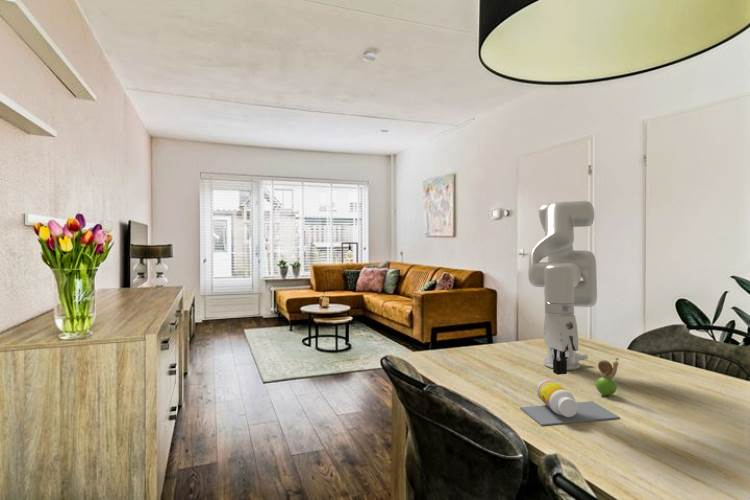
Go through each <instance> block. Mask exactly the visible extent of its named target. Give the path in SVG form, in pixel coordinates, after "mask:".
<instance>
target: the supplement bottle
mask: <svg viewBox="0 0 750 500" xmlns="http://www.w3.org/2000/svg"><path fill="white" fill-rule="evenodd" d="M536 393H537V394H536V395H537V397H538V398H539V399H540V400H541V401H542V403H544V404H545V405H547V406H548V407H549V408H550V409H552V410H553V411H554V412H555V413H556V414H559V415H564V416H566V417H571V416H574V415H575V414H576V412H577V410H578V406H577V402H576V399H575V397H574V395H573V394H572V393H571V392H570V391H568V390H567V389H565V387H563V386H562V385H560V384H559V383H557V381H555V380H552V379H545V380H543V381H541V382H540V383H539V384H538V386H537V390H536Z"/></svg>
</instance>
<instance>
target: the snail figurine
mask: <svg viewBox="0 0 750 500" xmlns="http://www.w3.org/2000/svg"><path fill="white" fill-rule="evenodd" d="M597 367H598V374H599V375H600V377H599V378H598V379H597V380H596V382H595V387H596V390H597V391H598V392H599V393H600V394H601V395H603V396H607V397H608V396H612V395H614V394H615V393H616V391H617V388H618V387H617V384H616V382H615V380H614V379H612V378H614V377H615V376H616V374H617V371H618V367H619V357H615V361H613V363H611V362H609V361H608V360H606V359H602V360H600V361H598V364H597Z"/></svg>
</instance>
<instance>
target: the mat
mask: <svg viewBox="0 0 750 500" xmlns="http://www.w3.org/2000/svg"><path fill="white" fill-rule="evenodd" d="M576 403H577V406H578V410H577V412H576V414H575V415H574V416H571V417H566V416H564V415H559V414H556V413H555V412H554V411H553V410H552V409H550V408H549V407H548V406H547V405H546V404H545V405H544V404H543V405H533V406H532V405H531V406H520V407H519V409H520V410H521V411H522V412H523V413H525V414H526V415H527V416H529V418H531V419H532V420H534V421H535V422H536V423H537V424H538V425H539V426H541V427H543V426H544V427H546V426H553V425H554V426H555V425H563V424H565V425H566V424H575V423H586V422H587V423H588V422H596V421H609V420H619V419H621V417H620V416H619V415H617V414H615V413H614V412H612V411H610V410H608V409H607V408H605V407H603V406H601V405H599V404H598V403H596V402H594V401H593V400H592V401H591V400H590V401H578V402H576Z"/></svg>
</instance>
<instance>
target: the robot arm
mask: <svg viewBox="0 0 750 500" xmlns="http://www.w3.org/2000/svg"><path fill="white" fill-rule="evenodd" d="M538 216H539V221H540V224H541V226H542V229H543V230H544V237H543V238H542V239H541V240H540V241H538V243H536V245H534V247H533V249H531V251H530V254H529V258H528V259H529V260H528V274H527V275H528V281H529V283H530V284H531V285H532V286H533V287H536V288H544V289H543V295H544V314H545V315H544V324H543V327H544V328H543V339H544V343H545V345H546V346H547V358H544V359H543V360H542V361H543V362H542V364H543V365H544V366H545V367H547V368H551V369H552V372H553V374H556V375H567V374H568V371H574V370H579V369H580V368H581V363H580V361H584V360H585V361H587V360H588V359H589V357H588V355H587V353H586V354H584V353H583V354H580V353H576V352H577V351H579V332H578V324H577V318H576V315H575V307H577V308H578V307H579V308H581V307H582V308H591V307H594V306H595V305H596V303H597V299H598V285H597V284H598V282H597V278H598V277H597V260H596V256H595V254H594V253H593V252H592V251H589V250H575V249H574V247H573V246H574V245H573V244H574V242H575V233H574V229H575V228H579V227H583V228H584V227H585V228H586V227H591V226H592V225H593V223H594V221H595V209H594V206H593V204H592V203H591V201H588V200H577V201H576V200H575V201H573V200H572V201H559V202H554V203H553V202H552V203H547V204H543V205H542V206H540V207H539V210H538ZM546 257H547V262H542V260H543V259H545V258H546ZM581 279H582V280H581Z"/></svg>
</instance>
